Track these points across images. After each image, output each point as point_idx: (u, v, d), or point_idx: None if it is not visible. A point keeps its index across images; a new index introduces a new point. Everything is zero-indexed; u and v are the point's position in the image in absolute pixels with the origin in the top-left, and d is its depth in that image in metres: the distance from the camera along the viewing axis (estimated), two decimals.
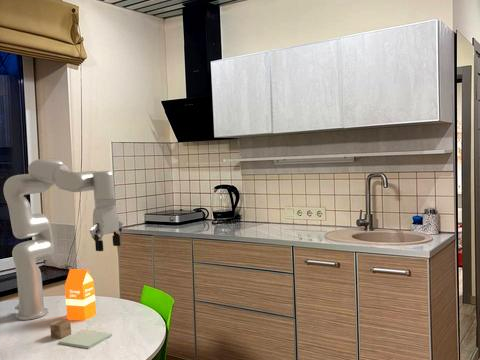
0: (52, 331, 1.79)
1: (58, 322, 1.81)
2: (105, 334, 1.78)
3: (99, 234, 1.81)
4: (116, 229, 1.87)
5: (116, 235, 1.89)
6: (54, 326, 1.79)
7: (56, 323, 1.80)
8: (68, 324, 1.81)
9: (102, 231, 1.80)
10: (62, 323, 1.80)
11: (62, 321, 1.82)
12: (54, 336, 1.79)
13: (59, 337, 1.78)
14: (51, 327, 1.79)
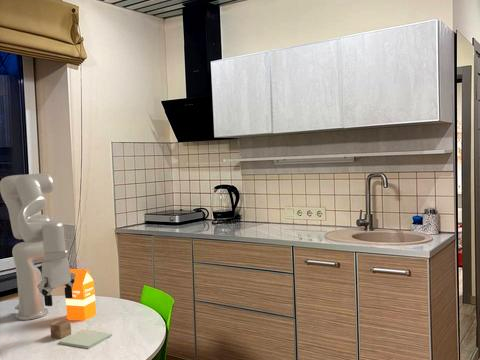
0: (52, 331, 1.79)
1: (58, 322, 1.81)
2: (105, 334, 1.78)
3: (48, 288, 1.76)
4: (67, 281, 1.81)
5: (68, 287, 1.83)
6: (54, 326, 1.79)
7: (56, 323, 1.80)
8: (68, 324, 1.81)
9: (51, 285, 1.74)
10: (62, 323, 1.80)
11: (62, 321, 1.82)
12: (54, 336, 1.79)
13: (59, 337, 1.78)
14: (51, 327, 1.79)
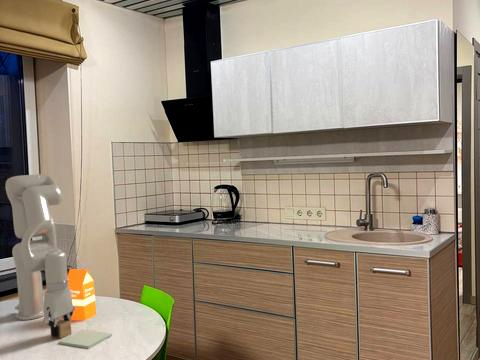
0: None
1: (58, 322, 1.81)
2: (105, 334, 1.78)
3: None
4: (69, 310, 1.82)
5: (66, 320, 1.83)
6: None
7: None
8: (68, 324, 1.81)
9: (53, 316, 1.75)
10: (62, 323, 1.80)
11: (62, 321, 1.82)
12: None
13: (59, 337, 1.78)
14: None
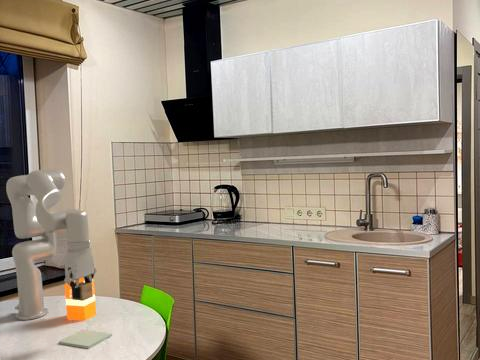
0: None
1: (79, 284, 1.75)
2: (105, 334, 1.78)
3: None
4: (90, 272, 1.76)
5: (87, 282, 1.77)
6: None
7: None
8: (90, 286, 1.75)
9: (74, 276, 1.69)
10: (84, 284, 1.74)
11: (83, 283, 1.76)
12: (75, 298, 1.73)
13: (81, 298, 1.72)
14: None
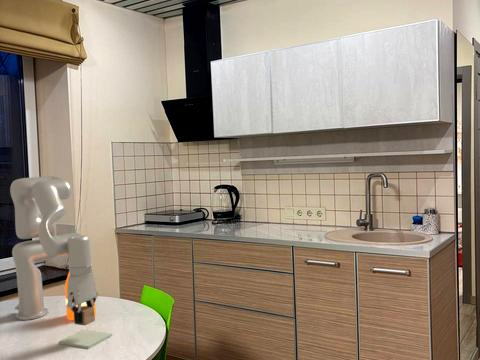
0: None
1: (81, 308, 1.75)
2: (105, 334, 1.78)
3: (77, 304, 1.72)
4: (93, 296, 1.76)
5: (89, 306, 1.77)
6: None
7: None
8: (92, 310, 1.75)
9: (77, 301, 1.70)
10: (86, 309, 1.74)
11: (85, 307, 1.76)
12: None
13: (83, 323, 1.72)
14: None
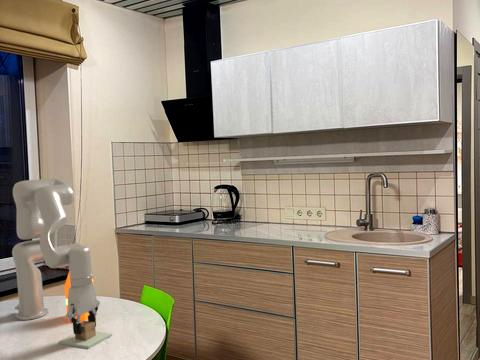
0: None
1: (82, 323, 1.76)
2: (105, 334, 1.78)
3: (76, 315, 1.72)
4: (93, 307, 1.77)
5: (91, 315, 1.78)
6: None
7: None
8: (93, 325, 1.76)
9: (77, 312, 1.70)
10: (87, 324, 1.75)
11: (86, 322, 1.77)
12: (79, 337, 1.74)
13: (84, 338, 1.73)
14: None
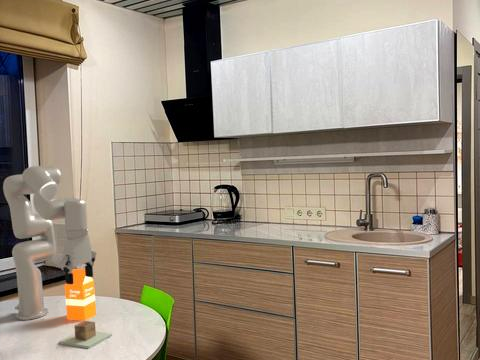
0: (77, 333, 1.74)
1: (82, 323, 1.76)
2: (105, 334, 1.78)
3: (69, 266, 1.73)
4: (88, 260, 1.78)
5: (89, 266, 1.80)
6: (79, 327, 1.73)
7: (80, 324, 1.75)
8: (93, 325, 1.76)
9: (72, 263, 1.71)
10: (87, 324, 1.75)
11: (86, 322, 1.77)
12: (79, 337, 1.74)
13: (84, 338, 1.73)
14: (75, 328, 1.74)
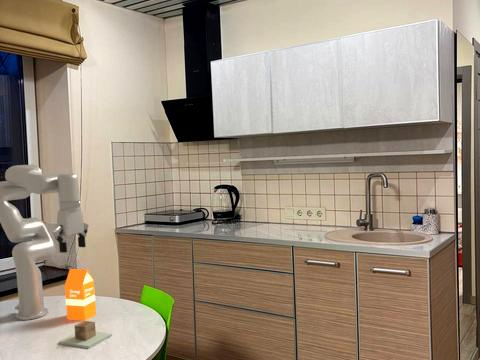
0: (77, 333, 1.74)
1: (82, 323, 1.76)
2: (105, 334, 1.78)
3: (63, 236, 1.84)
4: (81, 231, 1.90)
5: (81, 236, 1.92)
6: (79, 327, 1.73)
7: (80, 324, 1.75)
8: (93, 325, 1.76)
9: (66, 233, 1.83)
10: (87, 324, 1.75)
11: (86, 322, 1.77)
12: (79, 337, 1.74)
13: (84, 338, 1.73)
14: (75, 328, 1.74)
